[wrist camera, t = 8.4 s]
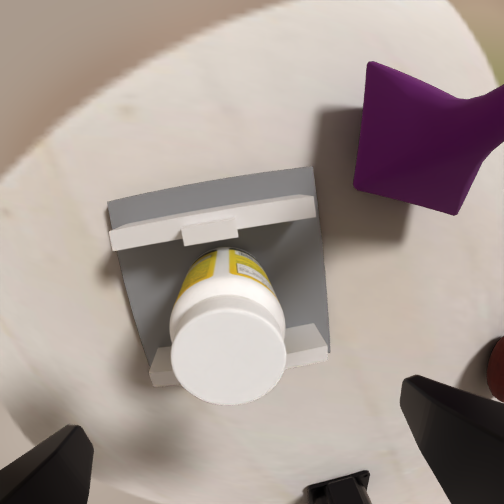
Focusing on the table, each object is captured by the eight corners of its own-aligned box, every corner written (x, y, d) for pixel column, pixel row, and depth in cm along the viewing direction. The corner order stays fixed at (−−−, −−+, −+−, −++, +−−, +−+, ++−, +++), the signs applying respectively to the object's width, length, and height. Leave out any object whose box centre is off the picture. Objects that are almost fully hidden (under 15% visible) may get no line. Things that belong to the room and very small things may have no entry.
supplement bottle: (190, 323, 19) (168, 414, 10) (182, 247, 18) (146, 300, 9) (268, 319, 19) (295, 408, 11) (267, 243, 18) (299, 292, 10)
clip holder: (327, 347, 21) (350, 386, 16) (156, 373, 20) (142, 417, 15) (308, 167, 18) (335, 161, 13) (111, 201, 17) (76, 207, 13)
